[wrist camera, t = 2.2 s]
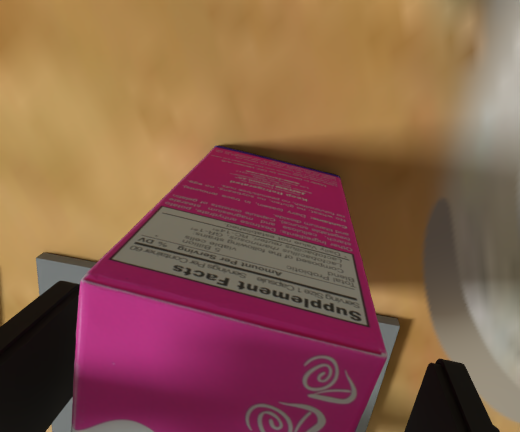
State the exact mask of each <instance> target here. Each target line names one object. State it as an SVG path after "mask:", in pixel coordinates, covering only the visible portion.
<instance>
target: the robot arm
mask: <svg viewBox="0 0 520 432" xmlns="http://www.w3.org/2000/svg"><path fill="white" fill-rule="evenodd" d="M79 290H80V284H77V283H72V282H67V281H58V282H57V283H55V284H54V285H53V286H52V287H50V288H49V289H48V290H47V291H45V292H44V293H43V294H42V295H40V296H39V297H38V298H37V299H35V300H34V301H33V302H32V303H30V304H29V305H28V306H26V307H25V308H24V309H23V310H21V311H20V312H19V313H18V314H16V315H15V316H14V317H13V318H11V319H10V320H9V321H8V322H6V323H5V324H4V325H2V326H1V327H0V432H46V430H47V429H48V428H49V426H50V425H51V424H52V423H53V421H54V420H55V419H56V417H57V416H58V415H59V413H60V412H61V411H62V410H63V408H64V407H65V406H66V404H67V403H68V402H69V401H70V399H71V398H72V397H73V379H74V361H75V350H76V327H77V314H78V300H79ZM405 432H500V431H499V429H498V428H496V427H495V426H494V425H493V424H492V422H491V420H490V418H489V416H488V414H487V412H486V410H485V407H484V405H483V403H482V401H481V399H480V397H479V395H478V393H477V390H476V388H475V386H474V384H473V382H472V380H471V378H470V376H469V373H468V371H467V369H466V367H465V366H464V364H462V363H458V362H453V361H448V360H444V359H438V360H437V361H436V363H430V364H429V365H428V367H427V370H426V373H425V375H424V378H423V381H422V384H421V387H420V390H419V392H418V395H417V398H416V401H415V404H414V406H413V409H412V412H411V415H410V418H409V420H408V423H407V426H406V429H405Z"/></svg>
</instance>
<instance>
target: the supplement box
mask: <svg viewBox="0 0 520 432" xmlns="http://www.w3.org/2000/svg"><path fill="white" fill-rule="evenodd" d="M386 359H387V352H386V348H385V345H384V341H383V338H382V334H381V331H380V327H379V323H378V320H377V316H376V313H375V308H374V305H373V301H372V298H371V294H370V290H369V286H368V281H367V278H366V274H365V270H364V267H363V262H362V258H361V255H360V251H359V247H358V244H357V241H356V236H355V232H354V229H353V225H352V222H351V218H350V214H349V210H348V206H347V202H346V198H345V194H344V191H343V187H342V183H341V179H340V176H338V175H335V174H331V173H327V172H322V171H319V170H315V169H311V168H307V167H303V166H299V165H295V164H291V163H287V162H283V161H279V160H276V159H272V158H268V157H264V156H260V155H256V154H252V153H248V152H244V151H239V150H235V149H231V148H227V147H222V146H215V147H214V148H213V149H212V150H211V151H210V152H209V153H208V154H207V155H206V156H205V157H204V159H203V160H202V161H200V162H199V163H198V164H197V165H196V166H195V167H194V168H193V169H192V170H191V171H190V172H189V173H188V174H187V175H186V176H185V177H184V178H183V179H182V180H181V181H180V182H179V183H178V184H177V185H176V186H175V187H174V188H173V189H172V190H171V191H170V192H169V193H168V194H167V195H166V196H165V197H164V198H163V199H162V200H161V201H160V202H159V203H158V204H157V205H156V206H155V207H154V208H153V209H152V210H150V211H149V212H148V213H147V214H146V215H145V216H144V217H143V218H142V219H141V220H140V221H139V222H138V223H137V224H136V225H135V226H134V227H133V228H132V229H131V230H130V231H129V232H128V233H127V234H126V235H125V236H124V237H123V238H122V239H121V240H120V241H119V242H118V243H117V244H116V245H115V246H114V247H113V248H112V249H111V250H110V251H108V252H107V253H106V254H105V255H104V256H103V257H102V258H101V259H100V260H99V261H98V262H97V263H96V264H95V265H94V266H93V267H92V268H91V269H90V270H89V271H88V272H87V273H86V274H85V275H84V277H83V278H82V279H81V282H80V290H79V300H78V314H77V327H76V350H75V361H74V379H73V404H72V425H71V432H355V431H356V429H357V426H358V424H359V422H360V419H361V417H362V414H363V412H364V410H365V408H366V406H367V403H368V401H369V398H370V396H371V394H372V391H373V389H374V387H375V385H376V382H377V380H378V378H379V375H380V373H381V371H382V369H383V366H384V364H385V362H386Z"/></svg>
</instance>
